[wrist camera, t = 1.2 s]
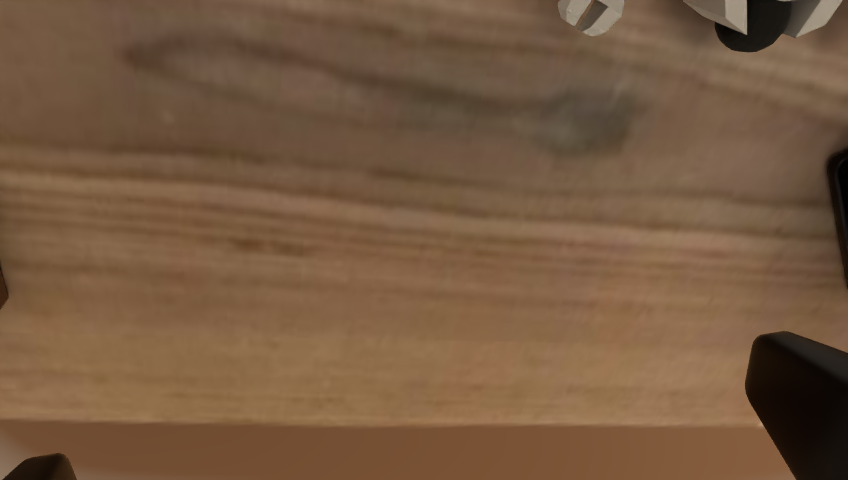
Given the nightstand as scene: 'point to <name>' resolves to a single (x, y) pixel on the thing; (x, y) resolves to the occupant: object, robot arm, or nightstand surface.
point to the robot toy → (721, 18)
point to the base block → (2, 291)
